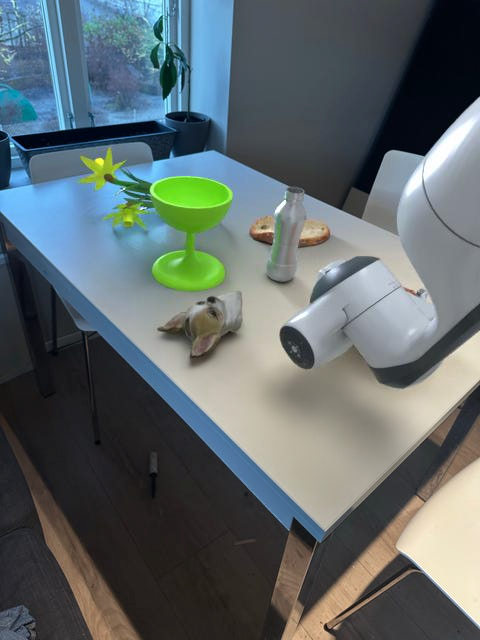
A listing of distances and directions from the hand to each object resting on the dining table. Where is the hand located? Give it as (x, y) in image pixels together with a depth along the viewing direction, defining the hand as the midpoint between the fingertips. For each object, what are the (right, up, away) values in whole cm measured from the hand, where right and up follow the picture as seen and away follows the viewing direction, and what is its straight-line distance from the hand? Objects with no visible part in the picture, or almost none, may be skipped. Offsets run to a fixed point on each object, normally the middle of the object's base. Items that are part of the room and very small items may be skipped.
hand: (400, 281), depth 80 cm
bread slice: (-16, +15, +36) cm, 43 cm away
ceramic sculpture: (-35, -10, 0) cm, 36 cm away
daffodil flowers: (-51, +19, +36) cm, 65 cm away
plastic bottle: (-20, +2, +19) cm, 28 cm away
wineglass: (-40, +4, +17) cm, 44 cm away
